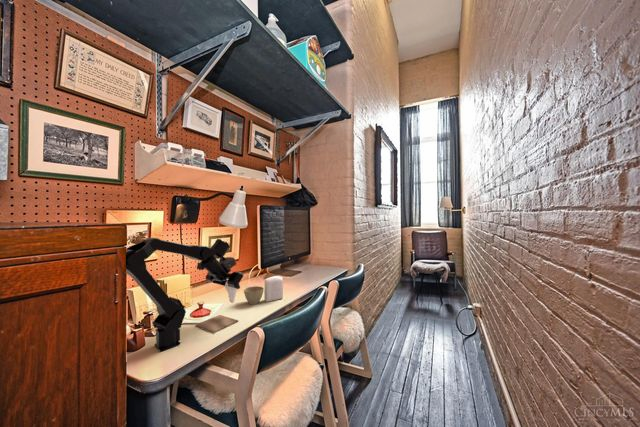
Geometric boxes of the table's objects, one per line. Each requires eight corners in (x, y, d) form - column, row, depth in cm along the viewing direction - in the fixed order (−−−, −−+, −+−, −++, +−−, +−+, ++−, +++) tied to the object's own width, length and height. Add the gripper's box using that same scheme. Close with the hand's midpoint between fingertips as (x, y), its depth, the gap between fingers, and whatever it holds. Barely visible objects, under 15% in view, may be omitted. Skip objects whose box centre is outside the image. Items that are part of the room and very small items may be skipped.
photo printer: (280, 296, 143) (280, 274, 143) (284, 298, 139) (284, 276, 139) (263, 300, 137) (263, 277, 137) (266, 302, 133) (266, 278, 133)
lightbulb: (234, 305, 112) (234, 280, 112) (222, 304, 113) (222, 279, 114) (242, 300, 118) (241, 277, 118) (230, 300, 119) (230, 276, 119)
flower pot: (248, 299, 139) (248, 286, 139) (266, 299, 138) (266, 286, 138) (240, 305, 129) (240, 291, 129) (259, 306, 128) (259, 292, 128)
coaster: (214, 333, 99) (214, 331, 99) (195, 326, 105) (195, 324, 105) (238, 321, 110) (238, 320, 110) (219, 316, 116) (219, 314, 116)
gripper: (240, 253, 108) (258, 274, 117) (211, 250, 117) (230, 270, 127) (224, 276, 101) (245, 296, 110) (195, 270, 110) (216, 290, 120)
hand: (234, 287), depth 117 cm, fingers closed on lightbulb, 6 cm apart
